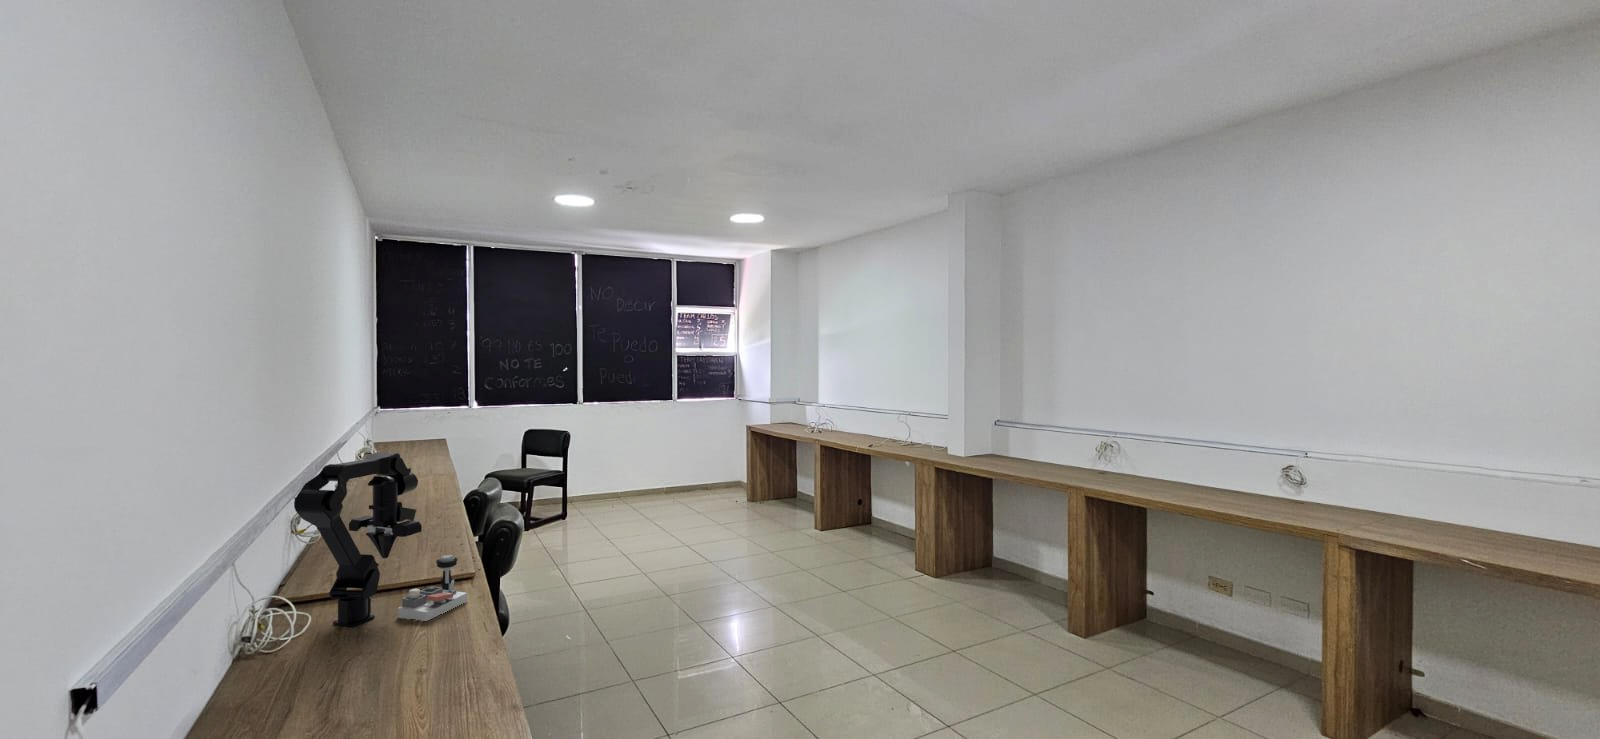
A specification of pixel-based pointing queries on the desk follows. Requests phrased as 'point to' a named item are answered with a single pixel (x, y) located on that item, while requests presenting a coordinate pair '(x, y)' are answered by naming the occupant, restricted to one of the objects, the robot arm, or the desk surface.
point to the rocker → (439, 596)
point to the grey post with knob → (446, 569)
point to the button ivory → (414, 594)
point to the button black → (431, 589)
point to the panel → (430, 604)
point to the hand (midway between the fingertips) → (385, 558)
